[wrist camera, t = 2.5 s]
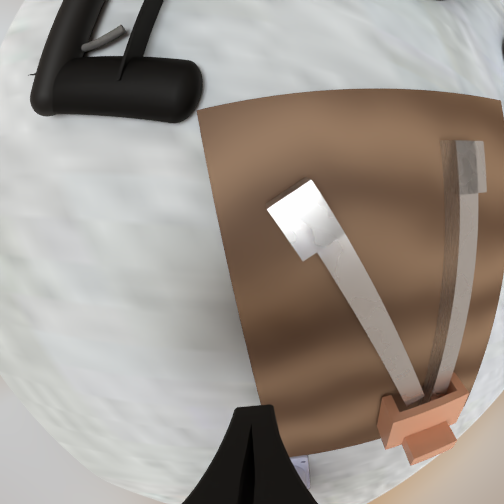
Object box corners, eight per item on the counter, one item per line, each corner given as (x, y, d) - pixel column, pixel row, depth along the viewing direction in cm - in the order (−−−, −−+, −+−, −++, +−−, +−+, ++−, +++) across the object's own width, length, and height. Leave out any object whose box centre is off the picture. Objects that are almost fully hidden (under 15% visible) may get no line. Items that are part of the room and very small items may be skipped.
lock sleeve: (443, 402, 19) (466, 440, 14) (376, 425, 20) (393, 471, 15) (454, 372, 18) (482, 412, 13) (382, 397, 19) (403, 447, 14)
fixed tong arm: (440, 395, 19) (447, 406, 18) (418, 403, 20) (424, 416, 18) (467, 140, 13) (483, 141, 11) (439, 140, 13) (455, 140, 12)
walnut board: (458, 397, 22) (464, 406, 20) (274, 447, 23) (275, 459, 22) (487, 102, 13) (500, 100, 12) (202, 114, 15) (196, 110, 13)
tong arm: (417, 382, 18) (424, 396, 17) (391, 398, 19) (397, 412, 17) (305, 177, 14) (311, 179, 12) (265, 203, 14) (266, 209, 13)
